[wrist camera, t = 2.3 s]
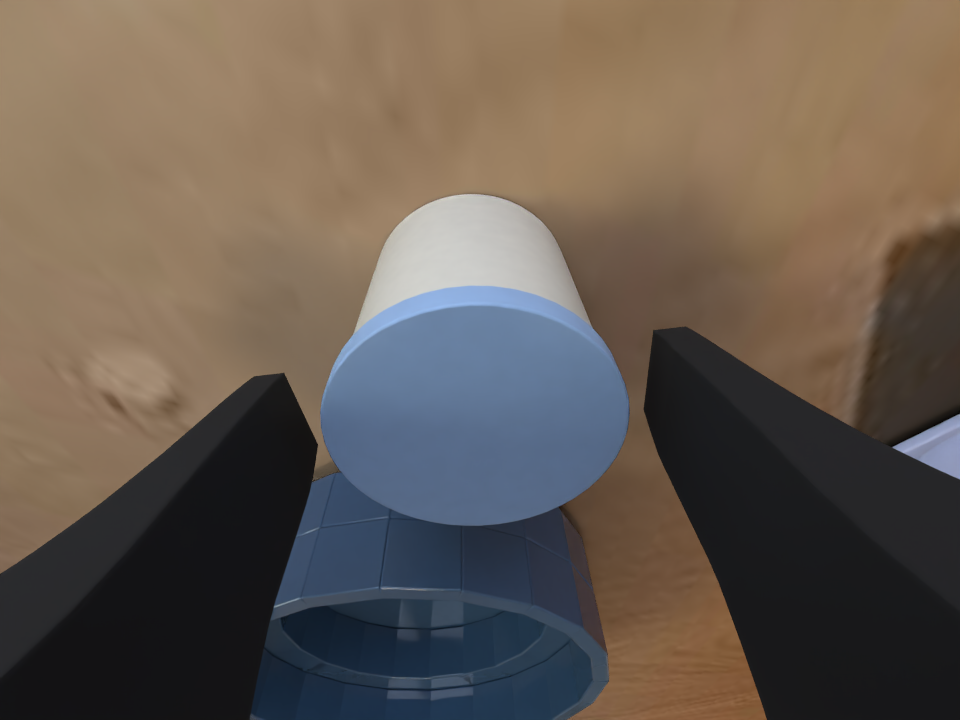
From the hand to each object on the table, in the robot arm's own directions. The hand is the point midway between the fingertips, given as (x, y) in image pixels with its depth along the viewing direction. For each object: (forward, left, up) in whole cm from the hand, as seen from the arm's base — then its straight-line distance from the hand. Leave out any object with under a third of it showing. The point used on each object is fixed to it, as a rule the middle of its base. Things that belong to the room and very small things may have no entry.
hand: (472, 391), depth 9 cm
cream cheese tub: (0, 0, -4) cm, 4 cm away
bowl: (-8, +11, -4) cm, 14 cm away
